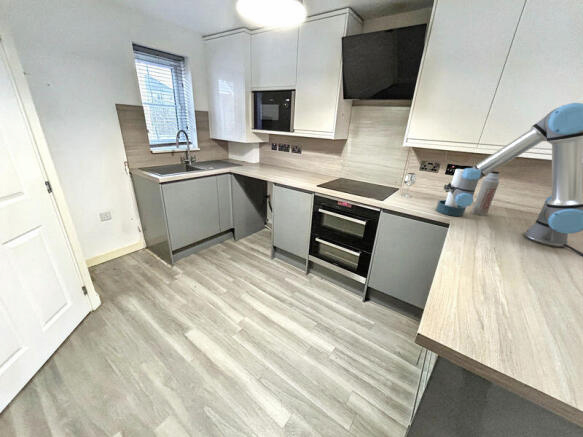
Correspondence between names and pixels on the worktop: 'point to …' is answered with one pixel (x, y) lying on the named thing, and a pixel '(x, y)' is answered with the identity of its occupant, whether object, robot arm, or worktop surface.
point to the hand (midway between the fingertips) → (456, 185)
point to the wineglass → (409, 181)
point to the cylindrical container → (455, 183)
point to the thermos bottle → (486, 194)
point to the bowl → (449, 209)
